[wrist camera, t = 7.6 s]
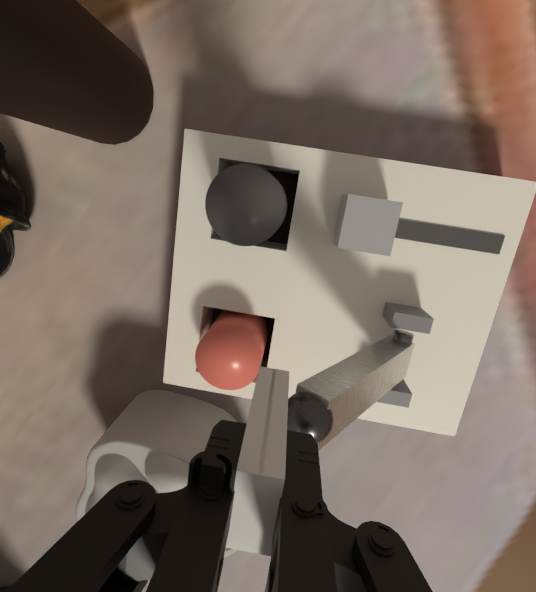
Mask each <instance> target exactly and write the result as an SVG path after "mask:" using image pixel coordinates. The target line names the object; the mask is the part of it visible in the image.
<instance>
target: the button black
mask: <svg viewBox="0 0 536 592" xmlns="http://www.w3.org/2000/svg"><path fill="white" fill-rule="evenodd" d="M205 209H206V215H207V218H208V221H209V223H210V225H211V227H212V228H213V230H214V231H215V232H216V233H217V234H218V235H219V236H220V237H221V238H222V239H224V240H225V241H227V242H229V243H231V244H234V245H238V246H253V245H257V244H260V243H262V242H264V241H266V240H267V239H269V238H270V237H271V236H272V235H273V234H274V233H275V232H276V231H277V230H278V228H279V227H280V226H281V225H282V223H283V222H284V220H285V218H286V215H287V211H288V199H287V195H286V192H285V190H284V188H283V186H282V185H281V184H280V183H279V181H277V180H276V179H275V178H274V177H273V176H272V175H271V174H270V173H269V172H268V171H266V170H265V169H263V168H261V167H259V166H256V165H252V164H236V165H233V166H230V167H228V168H226V169H224V170H223V171H221V172H220V173H219V174H218V175H217V176H216V177H215V178H214V179H213V181H212V182H211V184H210V186H209V188H208V191H207V194H206V199H205Z"/></svg>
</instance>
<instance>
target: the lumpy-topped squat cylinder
mask: <svg viewBox="0 0 536 592" xmlns="http://www.w3.org/2000/svg"><path fill="white" fill-rule="evenodd" d="M221 420H227V421H233V422H237V421H236V420H235V419H234V418H233V417H232V416H231V415H230V414H229V413H228V412H227V411H225V410H223V409H221V408H219V407H217V406H215V405H212V404H210V403H207V402H205V401H202V400H199V399H196V398H193V397H190V396H187V395H183V394H179V393H175V392H171V391H166V390H148V391H145V392H142V393H140V394H138V395H137V396H136V397H135V398H134V399H133V400H132V401H131V402H130V403H129V405H128V406H127V407H126V408H125V409H124V410H123V412H122V413H121V414H120V415H119V416H118V418H117V419H116V420H115V421H114V422H113V423H112V425H111V426H110V427H109V428H108V429H107V430H106V432H105V433H104V434H103V435H102V437H101V438H100V439H99V441H98V442H97V443H96V444H95V445H94V446H93V447H92V449H91V450H90V452H89V454H88V457H87V462H86V481H85V486H84V489H83V491H82V493H81V495H80V497H79V499H78V502H77V505H76V517H77V519H78V521H79V520H80V519H81V518H82V517H83V516H84V515H85V514H86V513H87V512H88V511H89V510H90V509H91V508H92V507H93V506H94V505H95V504H96V503H97V502H98V501H99V500H100V499H101V498H102V497H103V496H104V495H105V494H106V493H107V492H108V491H109V490H111V489H112V488H113V487H115V486H116V485H118V484H120V483H122V482H125V481H129V480H141V481H145V482H147V483H149V484H150V485H152V486H153V487H154V489H155V491H156V493H166V492H173V491H177V490H180V489H182V488H184V487H185V486H187V482H188V473H189V463H190V461H191V459H192V458H193V457H194V456H195V455H197V454H198V453H200V452H203V451H205V448H206V446H207V442H208V440H209V438H210V434H211V432H212V429H213V427H214V426H215V425H216V424H217V423H218V422H219V421H221ZM236 551H237V550H236V549H230V548H225V553H224V558H225V557H227V556H229V555H231V554H232V553H234V552H236Z"/></svg>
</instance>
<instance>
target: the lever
mask: <svg viewBox="0 0 536 592" xmlns="http://www.w3.org/2000/svg"><path fill="white" fill-rule="evenodd" d="M413 337H414V335H413V334H412V333H410V332H407V331H404V330H395V331H394V335H389V336H387V337H385V338H384V339H382V340H380V341H378V342H376V343H374V344H372V345H370V346H368V347H366V348H365V349H363V350H361V351H359V352H357V353H355V354H353V355H351V356H349V357H348V358H346V359H344V360H342V361H340V362H338V363H336V364H334V365H332V366H330V367H329V368H327V369H325V370H323V371H321V372H319V373H317V374H315V375H313V376H311V377H310V378H308V379H306V380H304V381H302V382H300V383H298V384H297V387H296V393H295V394H293V395H292V396H291V397H290V398H289V399H288V418H287V430H291V431H296V432H302V433H308V434H312V436H313V438H314V439H315V441H316V442H317V444H318V451H319V450H320V449H321V448H322V447H323V446H325V445H326V444H327V443H328V442H329V441H331V440H332V439H333V438H334V437H335V436H336V435H338V434H339V433H340V432H341V431H342V430H344V429H345V428H346V427H347V426H348V425H349V424H351V423H352V422H353V421H354V420H355V419H357V418H358V417H359V416H360V415H361V414H362V413H364V412H365V411H366V410H367V409H368V408H370V407H371V406H372V405H373V404H374V403H375V402H377V401H378V400H379V399H380V398H381V397H383V396H384V395H385V394H386V393H387V392H388V391H390V390H391V389H392V388H393V387H394V386H396V385H397V384H398V383H399V382H401V380H403V379H404V378H405V377H406V373H407V370H408V366H409V363H410V359H411V355H412V352H413V348H414V345H415V343H413V342H412V340H413Z"/></svg>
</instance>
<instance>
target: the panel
mask: <svg viewBox="0 0 536 592" xmlns="http://www.w3.org/2000/svg"><path fill="white" fill-rule="evenodd" d="M231 164H234V165H236V164H252V165H256V166H259V167H261V168H263V169H266V170H272V171H279V172H285V173H292V174H298V175H299V178H298V184H297V190H296V196H295V202H294V208H293V214H292V220H291V226H290V232H289V238H288V244H282V243H276V242H270V241H264V242H262V243H260V244H257V245H253V246H238V245H234V244H231V243H229V242H227V241H225V240H224V239H222V238H221V237H220V236H219V235H218V234H217V233H216V232H215V231H214V230H213V228H212V227H211V225H210V223H209V221H208V218H207V215H206V209H205V199H206V194H207V191H208V188H209V186H210V184H211V182H212V181H213V179H214V178H215V177H216V176H217V175H218V174H219V173H220V172H221V171H223V170H224V169H226V168H228V167H230V166H231ZM535 193H536V182H534V181H527V180H521V179H514V178H507V177H501V176H494V175H488V174H481V173H474V172H468V171H461V170H455V169H448V168H441V167H435V166H428V165H422V164H415V163H408V162H402V161H395V160H389V159H382V158H375V157H369V156H362V155H356V154H349V153H342V152H336V151H329V150H323V149H316V148H309V147H303V146H296V145H290V144H283V143H276V142H270V141H263V140H257V139H250V138H243V137H237V136H230V135H224V134H217V133H210V132H204V131H197V130H191V129H185V132H184V143H183V155H182V166H181V178H180V190H179V201H178V213H177V225H176V236H175V248H174V260H173V271H172V283H171V295H170V306H169V318H168V330H167V341H166V353H165V365H164V376H163V383H166V384H172V385H177V386H182V387H188V388H193V389H199V390H204V391H210V392H215V393H221V394H226V395H232V396H237V397H242V398H248V399H252V398H253V393H254V389H255V384H256V380H257V376H258V375H257V376H256V378H255V379H254V380H253V381H252V382H251V383H250V384H249V385H247V386H245V387H243V388H241V389H237V390H223V389H219V388H217V387H214V386H212V385H211V384H209V383H208V382H207V381H206V380H205V379H204V378H203V377H202V376H201V375H200V373H199V371H198V369H197V366H196V363H195V353H196V349H197V346H198V344H199V342H200V341H201V339H202V338H203V337H204V335H205V334H206V332H207V331H208V330H209V328H210V327H211V325H212V318H213V310H214V308H218V309H224V310H229V311H235V312H241V313H247V314H252V315H258V316H264V317H270V318H275V322H274V328H273V334H272V340H271V346H270V352H269V358H268V361H263V360H262V362H261V367H267V368H273V369H279V370H285V371H289V392H288V399H289V398H290V397H291V396H292V395H293V394H295V393H296V387H297V384H298V383H300V382H302V381H304V380H306V379H308V378H310V377H311V376H313V375H315V374H317V373H319V372H321V371H323V370H325V369H327V368H329V367H330V366H332V365H334V364H336V363H338V362H340V361H342V360H344V359H346V358H348V357H349V356H351V355H353V354H355V353H357V352H359V351H361V350H363V349H365V348H366V347H368V346H370V345H372V344H374V343H376V342H378V341H380V340H382V339H384V338H385V337H387V336H389V335H394V331H395V330H404V331H407V332H410V333H412V334H413V335H414V337H413V340H412V342H413V343H415V345H414V348H413V352H412V355H411V359H410V363H409V366H408V370H407V373H406V377H405V378H404V379H403V380H401V382H399V383H398V384H397V385H396V386H394V387H393V388H392V389H391V390H390V391H388V392H387V393H386V394H385V395H384V396H383V397H381V398H380V399H379V400H378V401H377V402H375V403H374V404H373V405H372V406H371V407H370V408H368V409H367V410H366V411H365V412H364V413H362V414H361V415H360V416H359V417H358V418H357V419H363V420H368V421H373V422H379V423H384V424H390V425H395V426H401V427H406V428H412V429H417V430H423V431H428V432H433V433H439V434H444V435H450V436H455V434H456V431H457V428H458V425H459V422H460V419H461V416H462V413H463V410H464V407H465V404H466V401H467V398H468V395H469V392H470V389H471V386H472V383H473V380H474V377H475V374H476V371H477V368H478V365H479V362H480V359H481V356H482V353H483V350H484V347H485V344H486V341H487V338H488V335H489V332H490V329H491V326H492V323H493V319H494V316H495V313H496V310H497V307H498V304H499V301H500V298H501V295H502V292H503V289H504V286H505V283H506V280H507V277H508V274H509V271H510V268H511V265H512V262H513V259H514V256H515V253H516V250H517V247H518V244H519V241H520V238H521V235H522V232H523V229H524V226H525V223H526V220H527V217H528V214H529V211H530V208H531V205H532V202H533V199H534V196H535ZM345 194H352V195H359V196H365V197H372V198H378V199H384V200H391V201H397V202H403V205H402V209H401V213H400V218H399V222H398V226H397V230H396V234H395V238H394V242H393V246H392V251H391V255H390V256H384V255H378V254H372V253H366V252H360V251H354V250H348V249H342V248H337V247H336V245H335V244H334V243H333V240H334V235H335V230H336V225H337V220H338V214H339V209H340V204H341V199H342V195H345Z"/></svg>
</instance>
